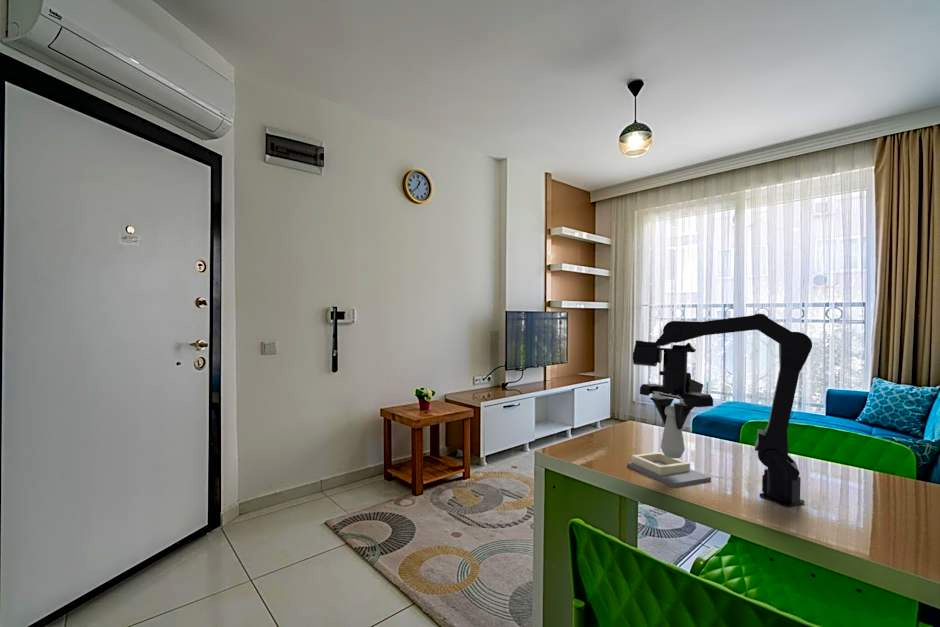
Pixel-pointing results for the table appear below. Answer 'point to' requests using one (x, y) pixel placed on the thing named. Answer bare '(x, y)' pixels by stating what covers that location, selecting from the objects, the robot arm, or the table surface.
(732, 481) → the table surface
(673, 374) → the robot arm
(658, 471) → the build board
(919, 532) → the table surface
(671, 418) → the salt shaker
